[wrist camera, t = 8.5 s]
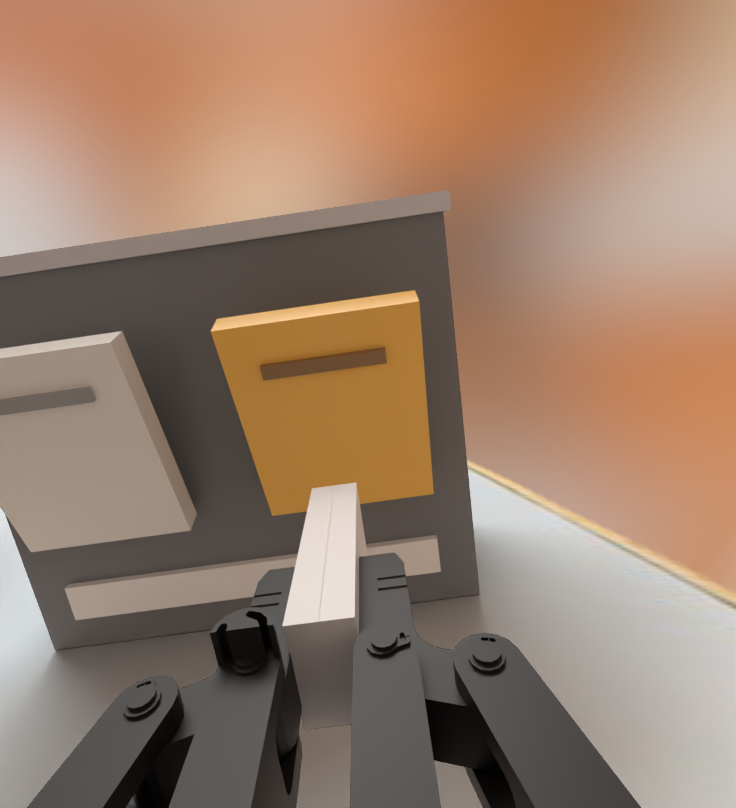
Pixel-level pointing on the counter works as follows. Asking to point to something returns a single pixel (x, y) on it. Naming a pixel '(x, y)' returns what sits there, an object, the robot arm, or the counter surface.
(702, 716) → the counter surface
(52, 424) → the rocker ivory
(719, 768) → the counter surface
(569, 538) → the counter surface
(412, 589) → the switch panel
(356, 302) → the rocker amber
